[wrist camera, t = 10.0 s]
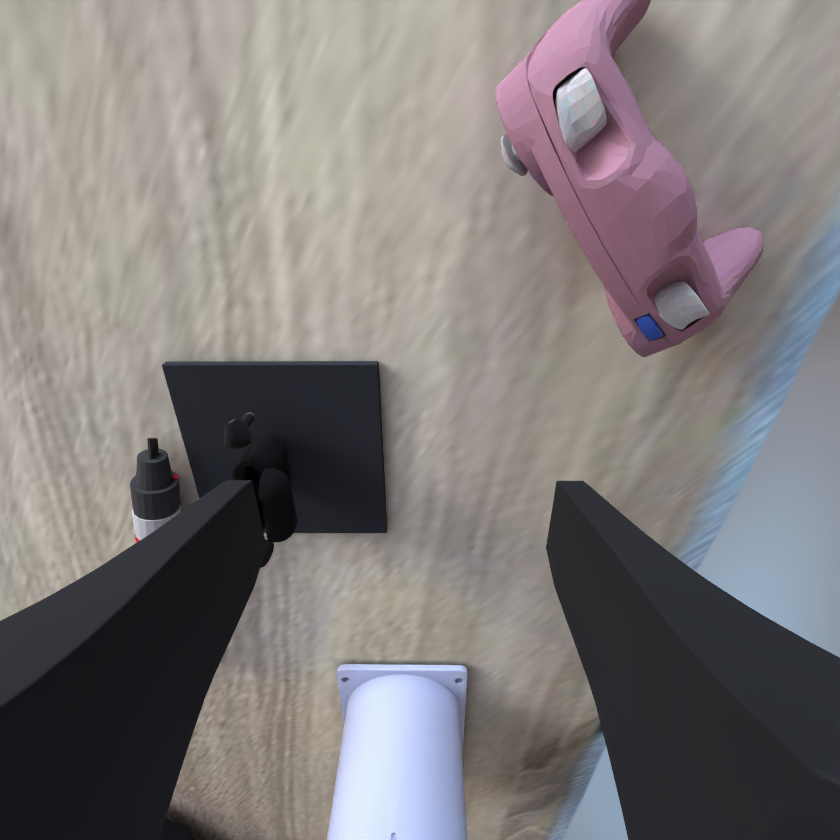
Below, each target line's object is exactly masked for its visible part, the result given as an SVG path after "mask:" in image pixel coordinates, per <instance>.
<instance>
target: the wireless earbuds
mask: <svg viewBox="0 0 840 840" xmlns="http://www.w3.org/2000/svg"><path fill="white" fill-rule="evenodd" d="M254 419H255V417H254V415H253V414H252V413H246V414H245V415H244V416H243V417H242V418H241V419H239V418H237V417H231V418H229V419H228V420H227V421H226V423H225V429H224V445H225V446H226V447H227V448H229V449H239V448H244V447H246V446H248V445H249V444H250V443H251V440H252V436H251V432H250V430H249V428H248V427H249V426H250V425H251V423H252V422H253V421H254ZM232 477H233V479H234V480H252V482H253V487H254V492H255V496H256V501H257V506H258V511H259V515H260V520H261V525H262V529H263V531H264V529H265V526H266V531H267V538H268V540H265V543H266V549H265V552H264V556H263V559H262V563H261V566H260V568H261V567H264V566H265V565H266V564H267V563H268V561H269V560H270V557H271V555H272V553H273V549H274V544H273V542H281V541H284V540H286V539H288V538H289V537H290V536H291V535H292V534H293V533H294V531H295V529H296V526H297V516H296V510H295V504H294V498H293V492H292V486H291V482H292V480H291V473H290V467H289V461H288V455H287V449H286V445H285V443H284V441H283V440H282V439H281V438H280V437H279V436H277V435H275V434H271V433H266V434H262V435H260V436H258V437H257V438H255V439H254V441H253V442H252V443H251V445H250V446H249V448H248V449H247V451H246V452H245V454H244V455H243V457H242V458H241V460H240V461H239V463H238V464H237V465H236V467H235V468H234V470H233V474H232Z"/></svg>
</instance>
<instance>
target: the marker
mask: <svg viewBox="0 0 840 840" xmlns="http://www.w3.org/2000/svg"><path fill="white" fill-rule="evenodd" d="M147 440H148V450H144V451H142V452H140V453H139V454H138V456H137V473H136V476H135V477H134V478H133V479H132V480H131V483H130V488H131V497H132V506H133V509H132V515H133V523H134V532H135V541H136V543H137V542H139V541H140V540H142V539H143V538H145V537H146V536H148V535H149V534H151V533H152V532H154V531H155V530H156V529H158V528H159V527H161V526H162V525H163V524H165V523H166V522H168V521H169V520H170V519H172V518H173V517H175V516H176V515H178V514H179V513H180V512H181V503H180V499H179V480H178V477H177V475H176V474H175V473H174V472H172V471H171V468H170V463H169V459H168V454H167V452H166V451H164V450H162V449H158V439H157V438H147Z"/></svg>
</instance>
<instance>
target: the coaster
mask: <svg viewBox="0 0 840 840" xmlns="http://www.w3.org/2000/svg"><path fill="white" fill-rule="evenodd" d="M162 367H163V371H164V374H165V378H166V381H167V385H168V388H169V392H170V395H171V399H172V403H173V406H174V410H175V413H176V417H177V420H178V424H179V427H180V431H181V434H182V438H183V441H184V445H185V448H186V452H187V455H188V459H189V462H190V466H191V469H192V473H193V477H194V480H195V484H196V487H197V491H198V494H199V498H201V497H203V496H204V495H205V494H207V493H208V492H210V491H211V490H212V489H214V488H215V487H217V486H218V485H220V484H222V483H223V482H225V481H226V480H234V479H233V477H232V474H233V470H234V468H235V467H236V465H237V464H238V463H239V461H240V460H241V458H242V457H243V455H244V454H245V452H246V451H247V449H248V448H249V446H250V445H251V443H252V442H253V441H254V439H255V438H257V437H258V436H260V435H262V434H266V433H271V434H275V435H277V436H279V437H280V438H281V439H282V440H283V441H284V443H285V445H286V449H287V455H288V461H289V467H290V473H291V480H292V482H291V486H292V492H293V498H294V504H295V510H296V516H297V526H296V529H295V531H294V533H386V532H387V515H386V496H385V477H384V458H383V438H382V419H381V400H380V381H379V362H378V361H302V362H165V363H164V364H162ZM246 413H252V414H253V415H254V417H255V419H254V421H253V422H252V423H251V425H250V426H249V427H248V428H249V430H250V432H251V436H252V440H251V443H250V444H249V445H248V446H246V447H244V448H239V449H229V448H227V447H226V446H225V445H224V429H225V423H226V421H227V420H228V419H229V418H231V417H237V418H239V419H241V418H242V417H243V416H244V415H245V414H246ZM263 533H267V531H266V526H265V529H264V531H263Z"/></svg>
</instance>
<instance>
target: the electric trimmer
mask: <svg viewBox="0 0 840 840" xmlns="http://www.w3.org/2000/svg"><path fill="white" fill-rule="evenodd" d="M159 840H198V839H197V838H195V837H193V836H192V834H191V830H190V828H189V827H187V826H185V825H182V824H180V823H177V822H175V821H172V820H170V819H167V818H166V819H165V822H164V826H163V829H162V832H161V836H160V839H159Z"/></svg>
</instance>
